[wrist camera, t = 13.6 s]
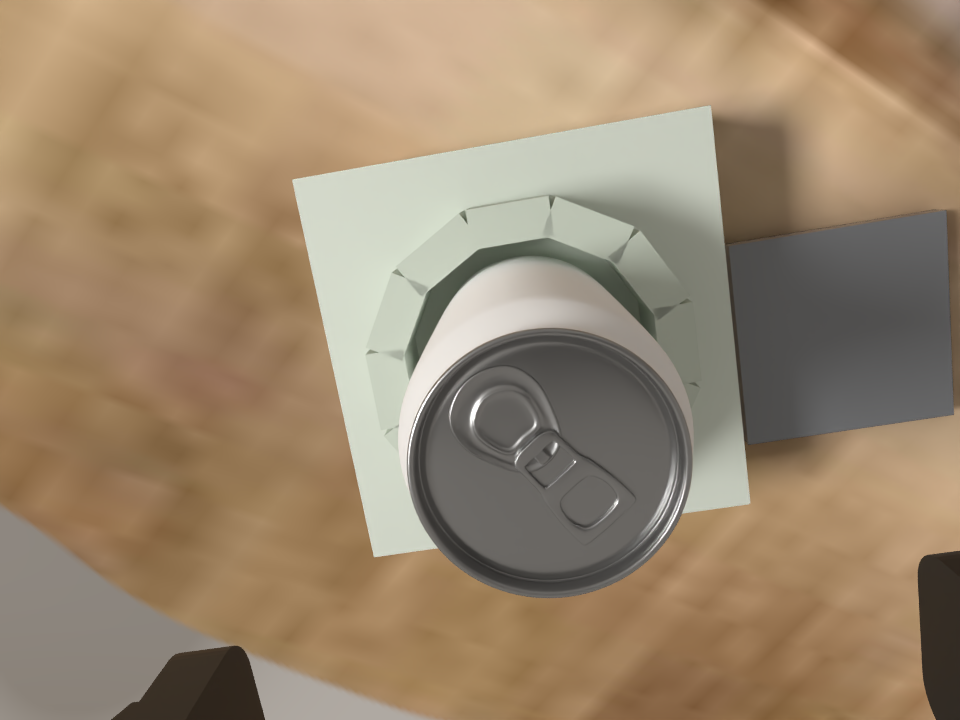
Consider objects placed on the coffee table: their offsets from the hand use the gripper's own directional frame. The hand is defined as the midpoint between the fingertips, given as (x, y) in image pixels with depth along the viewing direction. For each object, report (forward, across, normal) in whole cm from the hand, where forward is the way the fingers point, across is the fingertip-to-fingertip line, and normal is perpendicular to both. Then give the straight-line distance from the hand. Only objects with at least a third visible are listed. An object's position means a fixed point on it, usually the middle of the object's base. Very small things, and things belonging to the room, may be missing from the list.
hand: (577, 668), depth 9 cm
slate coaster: (+22, -12, +2) cm, 25 cm away
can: (+18, 0, 0) cm, 18 cm away
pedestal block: (+22, 0, 0) cm, 22 cm away
